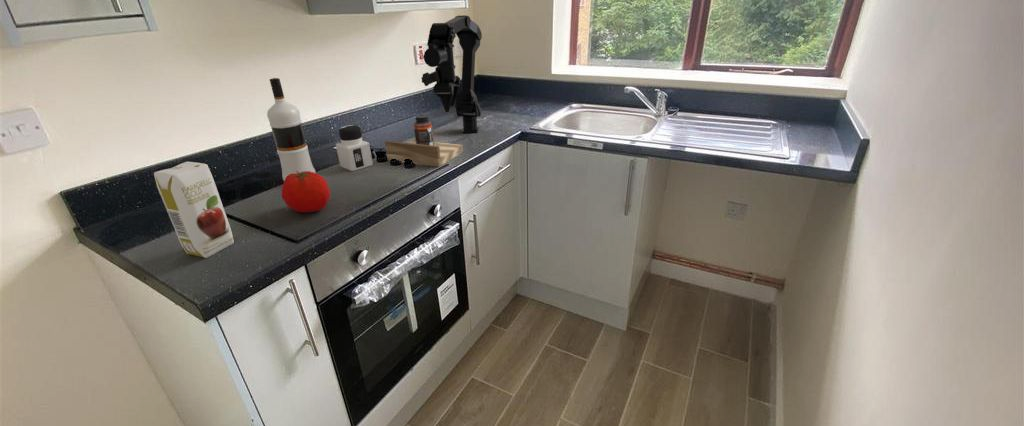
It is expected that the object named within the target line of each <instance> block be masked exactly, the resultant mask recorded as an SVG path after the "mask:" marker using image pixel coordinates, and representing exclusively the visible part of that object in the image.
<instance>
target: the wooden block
mask: <svg viewBox="0 0 1024 426" xmlns="http://www.w3.org/2000/svg"><path fill="white" fill-rule="evenodd" d="M384 145H385V150H386V157H387V161H388V160H391V159H396V160H399V161H401V162H400V163H403V162H402V161H404V160H405V159H410V160H412V161H413V163H414V164H413V165H421V166H429V167H437V168H438V167H439V168H440V167H441V166H443V165H445V164H446V163H448V162H450V161H451V160H453V159H454V158H456V157H457V156H459V155H460V154H462V153H464V147H463V144H459V143H458V144H457V143H447V142H438V141H437V142H436V141H434V146H433V145H423V144H416V139H413V140H411V141H409V142H400V141H393V140H386V141H384Z"/></svg>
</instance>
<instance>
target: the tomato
mask: <svg viewBox="0 0 1024 426" xmlns="http://www.w3.org/2000/svg"><path fill="white" fill-rule="evenodd" d="M296 172H297V171H296ZM330 191H331V190H330V187H329V186H328V183H327V181H326V179H325V178H324V177H323V176H321V175H320V174H319V173H317V172H316V173H314V172H310V171H304V172H301V173H299V172H297V173H293V174H290V175H288V176H287V177H286V179H285V181H283V184H282V187H281V192H280V193H281V198H282V200H283V201H284V203H285V204H286V205H287V207H289V209H291V210H293V211H295V212H300V213H312V212H317V211H321V210H322V209H324V207H326V206H327V204H328V202H329V201H330V196H331V192H330Z"/></svg>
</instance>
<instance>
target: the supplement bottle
mask: <svg viewBox="0 0 1024 426" xmlns="http://www.w3.org/2000/svg"><path fill="white" fill-rule="evenodd" d="M413 131H414V140H416V144H423V145H433V146H434V142H435V139H434V134H433V124H432V122H431V121H430V120H429V116H428V114H418V115H416V116H415V122H414V124H413Z"/></svg>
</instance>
